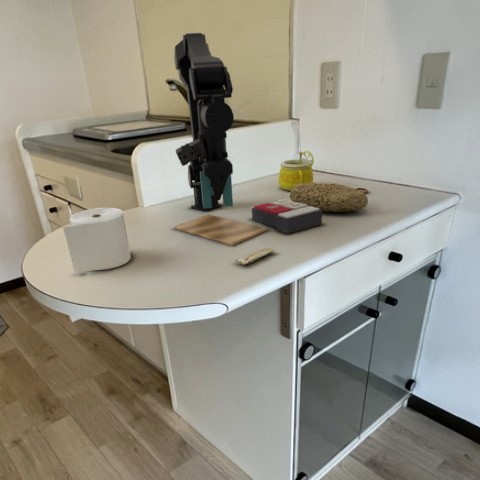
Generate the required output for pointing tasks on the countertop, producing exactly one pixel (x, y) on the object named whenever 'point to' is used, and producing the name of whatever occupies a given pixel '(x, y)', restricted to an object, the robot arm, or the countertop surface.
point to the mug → (296, 172)
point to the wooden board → (220, 229)
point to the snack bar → (254, 256)
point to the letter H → (208, 191)
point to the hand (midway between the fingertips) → (217, 198)
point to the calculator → (287, 215)
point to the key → (363, 190)
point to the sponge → (329, 197)
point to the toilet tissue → (97, 239)
